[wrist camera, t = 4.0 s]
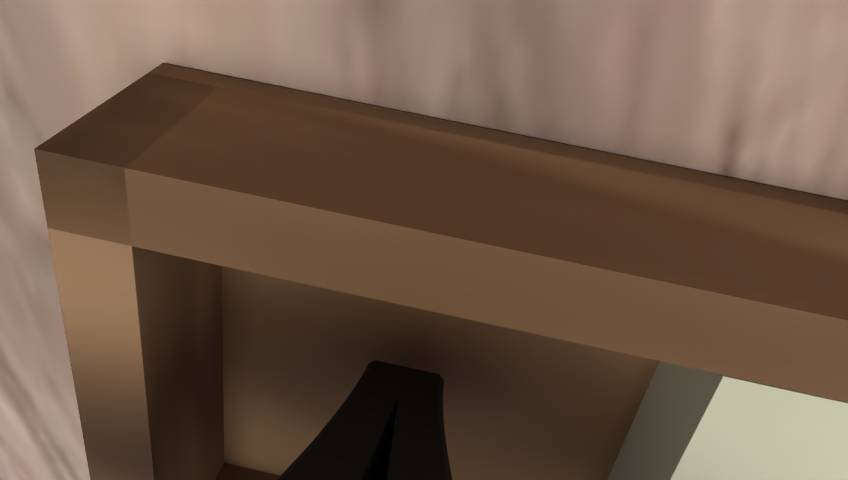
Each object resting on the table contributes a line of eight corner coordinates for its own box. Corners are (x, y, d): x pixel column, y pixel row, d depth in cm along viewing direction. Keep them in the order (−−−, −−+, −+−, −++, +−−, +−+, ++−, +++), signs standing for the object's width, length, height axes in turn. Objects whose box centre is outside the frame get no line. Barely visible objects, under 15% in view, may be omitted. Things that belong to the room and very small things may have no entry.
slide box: (924, 641, 17) (1003, 822, 14) (185, 467, 18) (111, 601, 15) (1280, 288, 11) (1545, 467, 8) (163, 63, 12) (34, 148, 9)
